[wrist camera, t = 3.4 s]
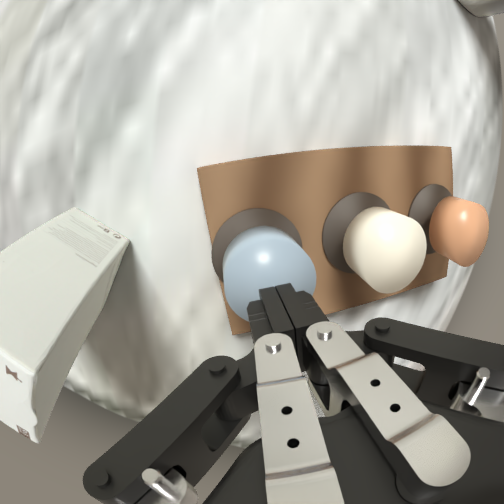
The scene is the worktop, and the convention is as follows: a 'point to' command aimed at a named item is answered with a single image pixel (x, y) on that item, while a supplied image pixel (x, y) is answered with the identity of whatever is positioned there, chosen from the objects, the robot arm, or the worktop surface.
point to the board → (326, 208)
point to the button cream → (385, 248)
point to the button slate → (264, 266)
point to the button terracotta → (459, 230)
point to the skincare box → (50, 311)
